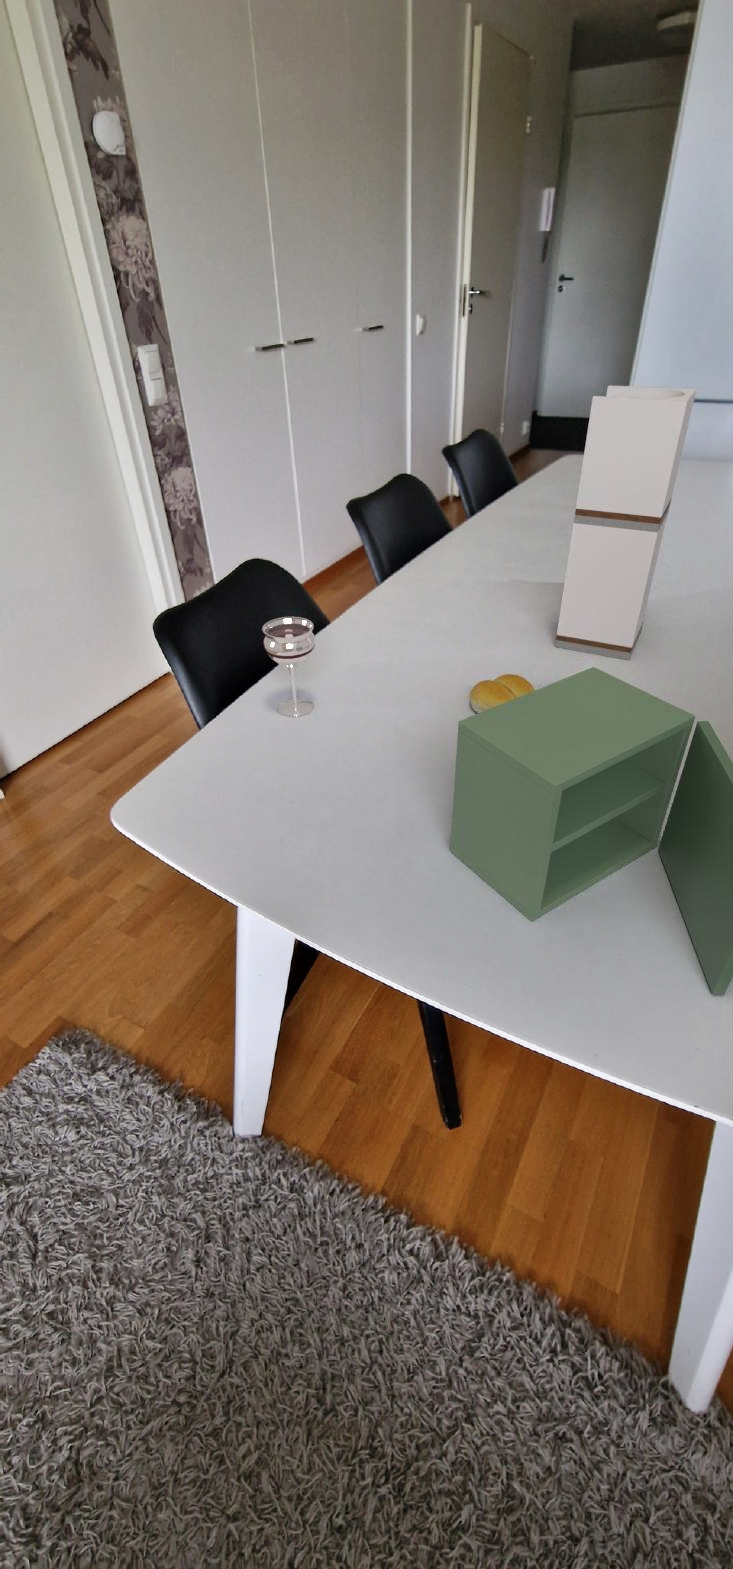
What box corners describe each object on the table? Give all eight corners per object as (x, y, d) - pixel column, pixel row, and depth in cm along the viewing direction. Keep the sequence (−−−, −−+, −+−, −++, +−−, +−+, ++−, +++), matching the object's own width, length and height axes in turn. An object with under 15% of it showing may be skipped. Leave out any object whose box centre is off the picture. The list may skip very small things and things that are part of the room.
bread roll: (458, 700, 98) (460, 675, 96) (512, 686, 101) (515, 661, 99) (490, 729, 92) (493, 702, 90) (547, 713, 95) (551, 687, 93)
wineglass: (323, 696, 100) (318, 617, 93) (315, 721, 95) (309, 639, 88) (277, 694, 101) (268, 615, 94) (266, 719, 96) (256, 637, 88)
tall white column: (640, 632, 115) (696, 389, 94) (629, 660, 107) (687, 401, 86) (570, 621, 119) (609, 385, 98) (554, 646, 111) (592, 397, 90)
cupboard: (656, 846, 73) (696, 715, 64) (531, 921, 66) (555, 785, 56) (569, 790, 81) (593, 666, 72) (449, 851, 74) (458, 721, 64)
